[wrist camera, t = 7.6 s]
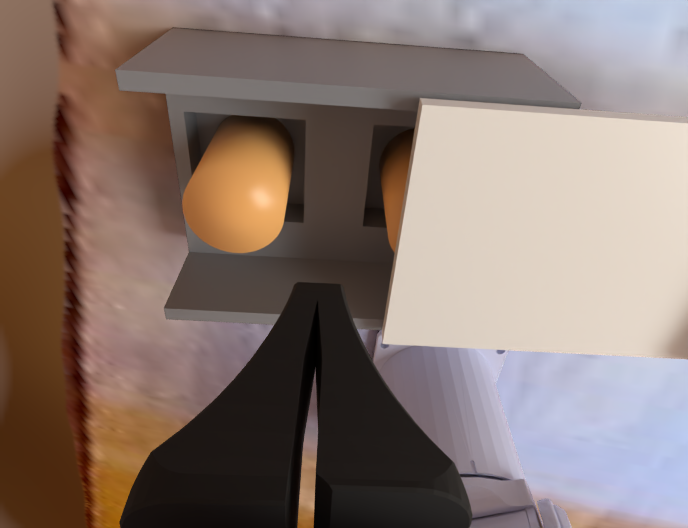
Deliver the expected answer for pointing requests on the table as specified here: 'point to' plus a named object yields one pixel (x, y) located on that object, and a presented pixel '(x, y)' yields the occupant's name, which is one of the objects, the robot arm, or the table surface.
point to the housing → (312, 151)
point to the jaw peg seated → (395, 180)
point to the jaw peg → (241, 185)
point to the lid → (543, 232)
